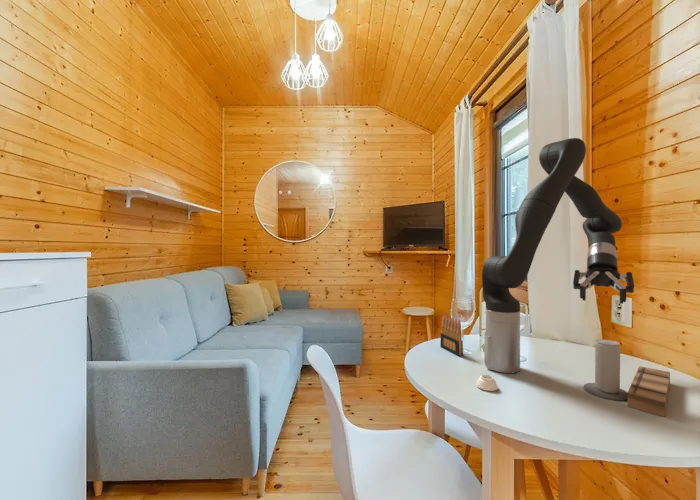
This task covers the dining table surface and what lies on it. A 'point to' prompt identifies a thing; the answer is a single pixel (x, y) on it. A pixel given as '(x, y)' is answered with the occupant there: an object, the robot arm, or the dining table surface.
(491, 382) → the small beige bowl
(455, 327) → the ammunition clip
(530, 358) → the dining table surface
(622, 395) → the end pad
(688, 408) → the dining table surface
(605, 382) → the beverage can
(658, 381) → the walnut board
